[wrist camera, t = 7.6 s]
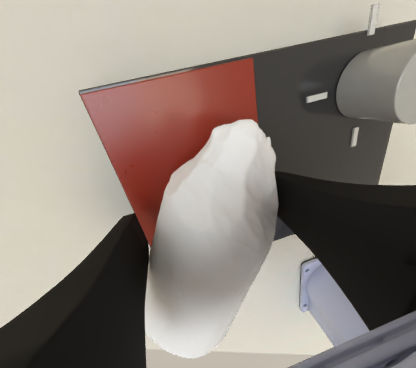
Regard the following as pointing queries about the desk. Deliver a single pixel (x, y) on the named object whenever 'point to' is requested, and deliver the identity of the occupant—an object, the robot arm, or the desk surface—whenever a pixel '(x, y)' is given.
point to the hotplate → (167, 126)
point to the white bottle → (211, 239)
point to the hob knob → (380, 84)
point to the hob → (315, 107)
